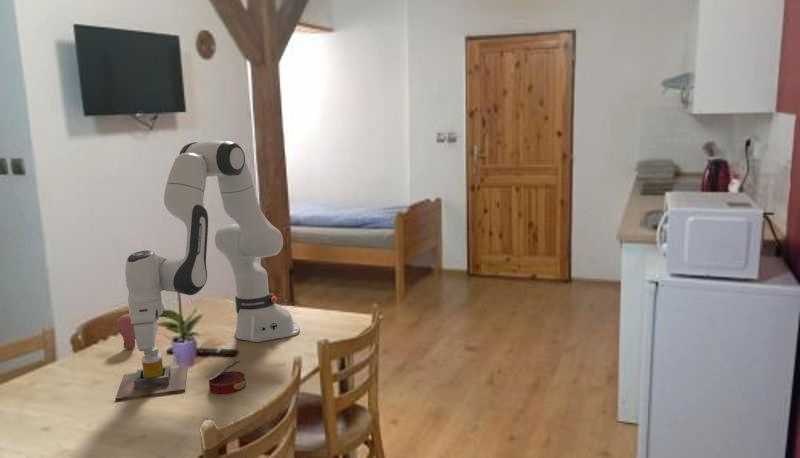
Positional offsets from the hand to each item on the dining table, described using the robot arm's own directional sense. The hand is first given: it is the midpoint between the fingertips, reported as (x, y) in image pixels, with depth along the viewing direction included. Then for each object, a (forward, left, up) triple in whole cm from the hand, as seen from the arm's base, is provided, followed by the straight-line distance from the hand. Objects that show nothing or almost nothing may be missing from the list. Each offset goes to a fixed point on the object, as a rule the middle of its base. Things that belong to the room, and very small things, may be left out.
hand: (150, 355), depth 186 cm
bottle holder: (0, 0, -9) cm, 9 cm away
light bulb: (+10, -35, -9) cm, 38 cm away
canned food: (-21, +10, -9) cm, 25 cm away
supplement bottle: (0, -1, -8) cm, 8 cm away
